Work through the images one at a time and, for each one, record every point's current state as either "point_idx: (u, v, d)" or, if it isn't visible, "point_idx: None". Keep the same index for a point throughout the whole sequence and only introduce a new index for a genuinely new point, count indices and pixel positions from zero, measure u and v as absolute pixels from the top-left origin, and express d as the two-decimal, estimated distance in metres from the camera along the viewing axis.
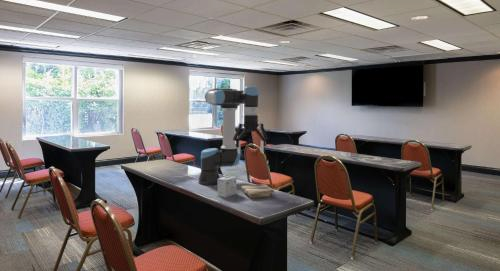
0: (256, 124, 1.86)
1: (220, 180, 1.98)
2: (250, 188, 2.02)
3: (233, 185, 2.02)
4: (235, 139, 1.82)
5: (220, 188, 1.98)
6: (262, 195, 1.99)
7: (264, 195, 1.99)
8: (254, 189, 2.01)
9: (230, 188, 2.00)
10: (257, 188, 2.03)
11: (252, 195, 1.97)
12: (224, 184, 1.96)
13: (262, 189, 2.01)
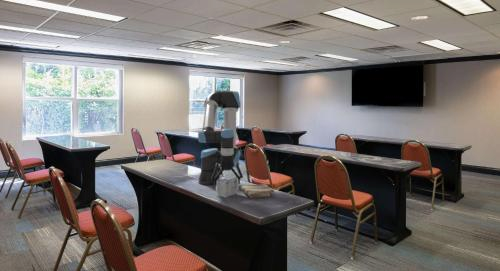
0: (232, 163, 2.00)
1: (220, 180, 1.98)
2: (250, 188, 2.02)
3: (234, 185, 2.02)
4: (213, 178, 1.97)
5: (220, 188, 1.98)
6: (262, 195, 1.99)
7: (264, 195, 1.99)
8: (254, 189, 2.01)
9: (230, 188, 2.00)
10: (257, 188, 2.03)
11: (252, 195, 1.97)
12: (224, 184, 1.96)
13: (262, 189, 2.01)
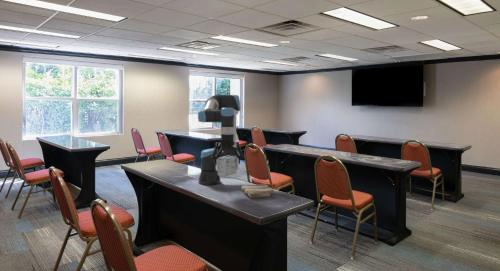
0: (232, 142, 1.99)
1: (220, 159, 1.97)
2: (250, 188, 2.02)
3: (234, 164, 2.01)
4: (213, 157, 1.96)
5: (220, 167, 1.97)
6: (262, 195, 1.99)
7: (264, 195, 1.99)
8: (254, 189, 2.01)
9: (230, 167, 1.98)
10: (257, 188, 2.03)
11: (252, 195, 1.97)
12: (224, 163, 1.95)
13: (262, 189, 2.01)
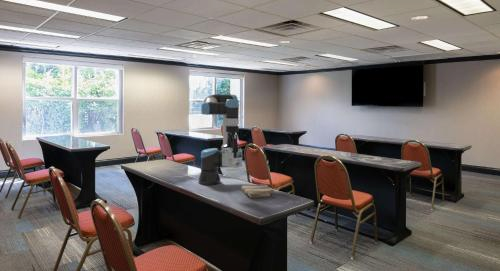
0: (231, 134, 1.96)
1: None
2: (250, 188, 2.02)
3: (231, 157, 1.96)
4: (226, 146, 2.08)
5: None
6: (262, 195, 1.99)
7: (264, 195, 1.99)
8: (254, 189, 2.01)
9: (227, 159, 1.98)
10: (257, 188, 2.03)
11: (252, 195, 1.97)
12: None
13: (262, 189, 2.01)
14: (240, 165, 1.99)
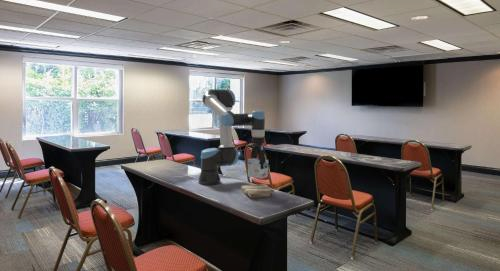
0: (257, 146, 1.98)
1: None
2: (250, 188, 2.02)
3: (258, 168, 1.98)
4: (251, 157, 2.10)
5: None
6: (262, 195, 1.99)
7: (264, 195, 1.99)
8: (254, 189, 2.01)
9: (253, 169, 2.00)
10: (257, 188, 2.03)
11: (252, 195, 1.97)
12: None
13: (262, 189, 2.01)
14: (266, 175, 2.01)
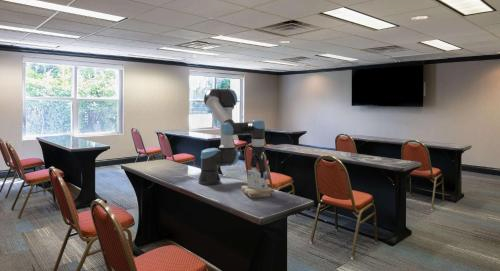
0: (257, 155, 1.99)
1: None
2: (250, 188, 2.02)
3: (257, 180, 1.99)
4: None
5: None
6: (262, 195, 1.99)
7: (264, 195, 1.99)
8: (254, 189, 2.01)
9: (253, 181, 2.01)
10: None
11: (252, 195, 1.97)
12: None
13: None
14: (265, 187, 2.02)
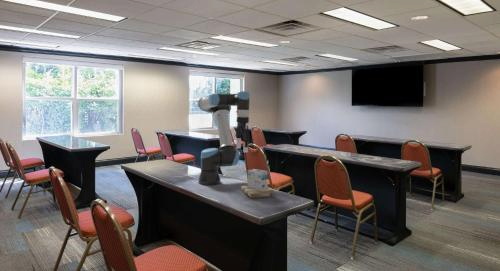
0: (242, 125, 2.04)
1: None
2: (250, 188, 2.02)
3: (257, 180, 1.99)
4: (235, 135, 2.17)
5: None
6: (262, 195, 1.99)
7: (264, 195, 1.99)
8: (254, 189, 2.01)
9: (253, 181, 2.01)
10: None
11: (252, 195, 1.97)
12: None
13: None
14: (265, 187, 2.02)
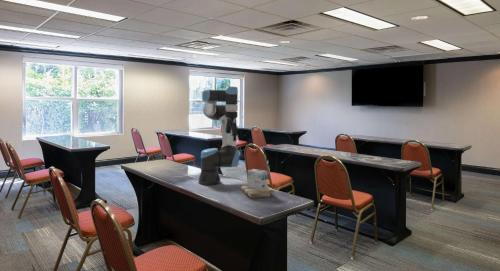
0: (231, 120, 2.09)
1: None
2: (250, 188, 2.02)
3: (257, 180, 1.99)
4: (225, 131, 2.21)
5: None
6: (262, 195, 1.99)
7: (264, 195, 1.99)
8: (254, 189, 2.01)
9: (253, 181, 2.01)
10: None
11: (252, 195, 1.97)
12: None
13: None
14: (265, 187, 2.02)
